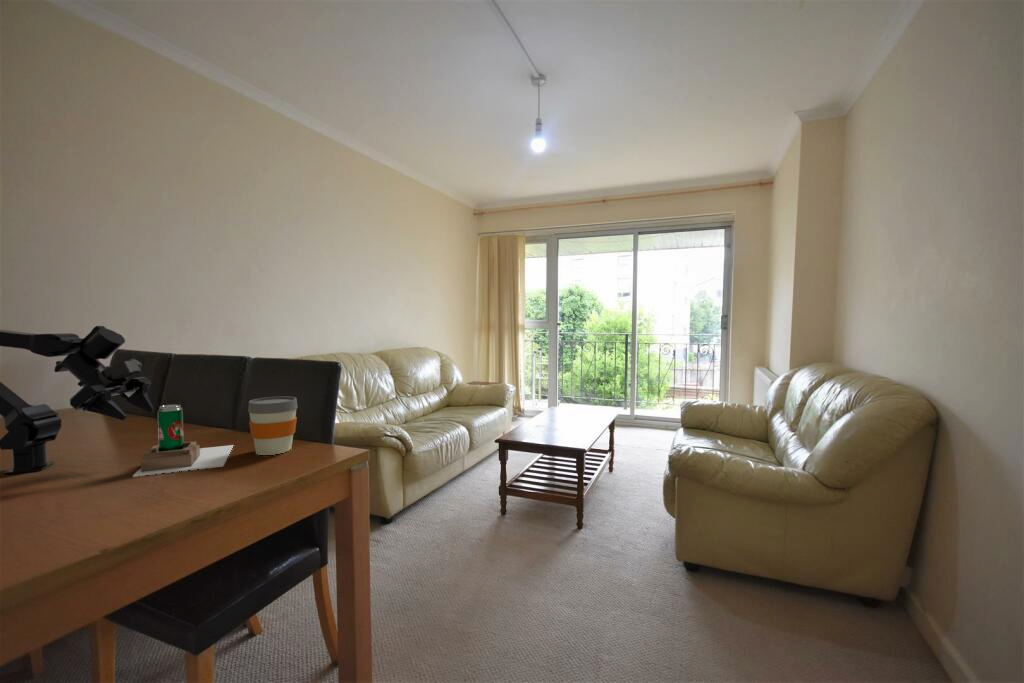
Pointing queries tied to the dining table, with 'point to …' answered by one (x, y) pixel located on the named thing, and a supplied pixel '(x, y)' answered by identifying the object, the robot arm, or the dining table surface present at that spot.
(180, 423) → the soda can
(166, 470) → the white flat sheet
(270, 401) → the reusable coffee cup
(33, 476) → the dining table surface
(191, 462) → the socket block
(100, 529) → the dining table surface
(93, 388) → the robot arm
